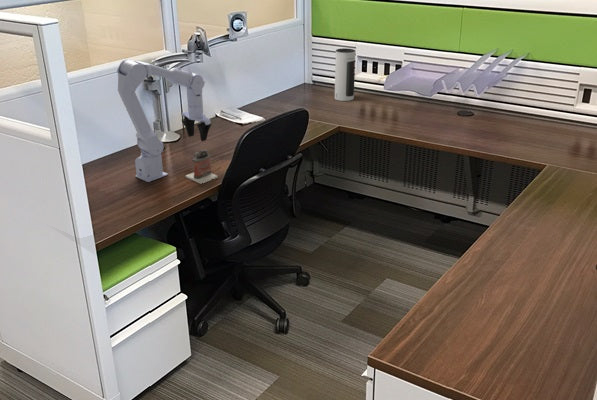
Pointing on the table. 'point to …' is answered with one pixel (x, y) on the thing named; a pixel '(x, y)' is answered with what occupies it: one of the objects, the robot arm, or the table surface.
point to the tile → (201, 180)
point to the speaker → (344, 74)
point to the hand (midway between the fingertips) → (197, 138)
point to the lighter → (201, 164)
